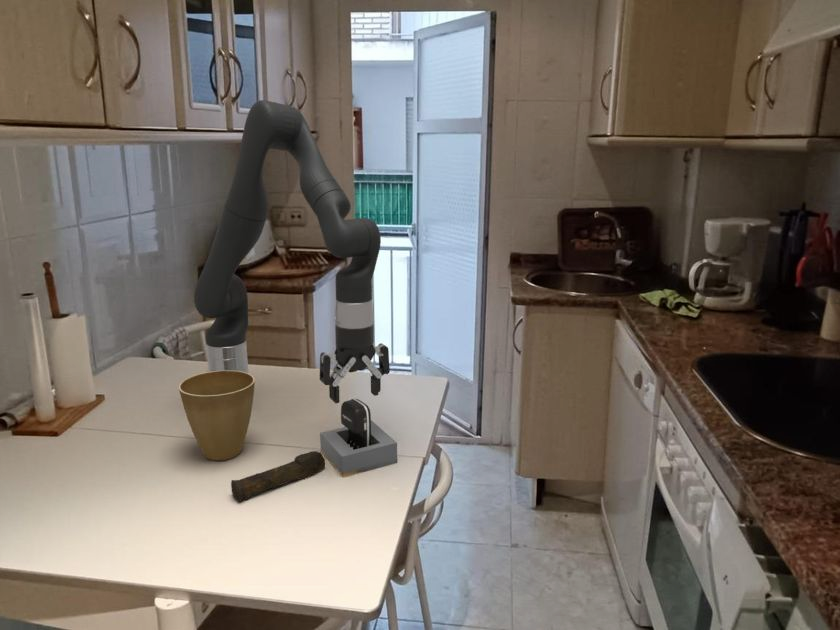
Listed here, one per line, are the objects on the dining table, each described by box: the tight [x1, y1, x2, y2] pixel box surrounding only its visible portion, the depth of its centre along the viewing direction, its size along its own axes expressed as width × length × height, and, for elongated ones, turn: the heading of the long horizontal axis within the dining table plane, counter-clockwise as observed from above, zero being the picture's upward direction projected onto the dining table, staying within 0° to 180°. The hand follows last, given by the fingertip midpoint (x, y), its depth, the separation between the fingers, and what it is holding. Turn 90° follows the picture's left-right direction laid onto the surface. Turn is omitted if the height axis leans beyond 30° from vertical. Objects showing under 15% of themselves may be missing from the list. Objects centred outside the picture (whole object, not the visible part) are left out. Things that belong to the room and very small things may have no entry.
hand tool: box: [230, 450, 326, 503], centre depth 121 cm, size 19×4×5 cm, turn 126°
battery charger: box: [340, 398, 372, 450], centre depth 130 cm, size 7×4×11 cm, turn 36°
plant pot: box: [178, 370, 256, 461], centre depth 132 cm, size 15×15×16 cm
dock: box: [319, 420, 398, 478], centre depth 131 cm, size 12×12×4 cm
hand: (355, 398), depth 128 cm, fingers open, 8 cm apart
